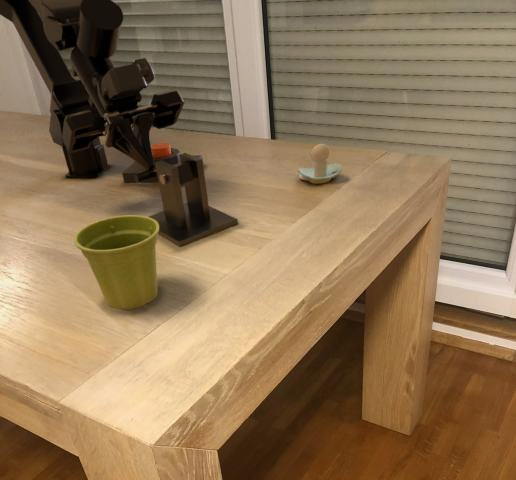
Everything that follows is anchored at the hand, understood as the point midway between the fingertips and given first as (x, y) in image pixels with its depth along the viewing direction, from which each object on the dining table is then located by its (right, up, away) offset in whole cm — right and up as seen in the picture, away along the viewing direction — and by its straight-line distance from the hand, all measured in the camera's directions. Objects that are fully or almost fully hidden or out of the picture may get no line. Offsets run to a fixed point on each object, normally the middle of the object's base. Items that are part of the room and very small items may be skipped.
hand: (151, 168), depth 85 cm
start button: (-1, +7, +15) cm, 16 cm away
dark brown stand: (+6, -9, -2) cm, 11 cm away
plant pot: (+1, -21, -17) cm, 27 cm away
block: (-1, +4, +17) cm, 17 cm away
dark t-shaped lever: (+3, -3, -3) cm, 5 cm away
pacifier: (+26, +1, +10) cm, 28 cm away
